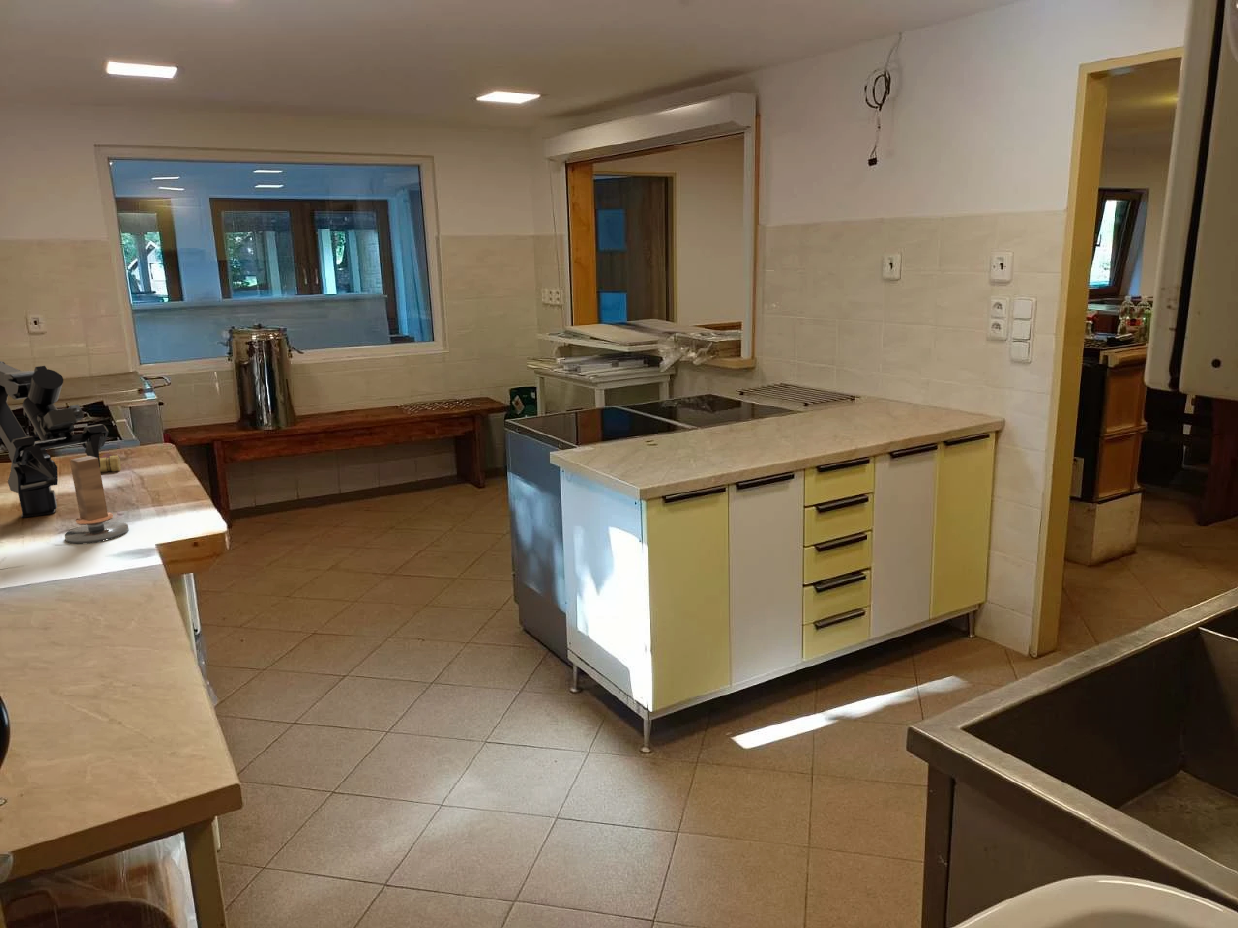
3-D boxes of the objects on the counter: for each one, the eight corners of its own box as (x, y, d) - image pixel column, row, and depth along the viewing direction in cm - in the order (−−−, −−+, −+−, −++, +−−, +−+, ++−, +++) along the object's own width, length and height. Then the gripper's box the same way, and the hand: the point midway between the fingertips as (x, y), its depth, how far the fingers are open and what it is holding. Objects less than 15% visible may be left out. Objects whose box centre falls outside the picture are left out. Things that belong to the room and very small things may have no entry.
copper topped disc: (63, 547, 185) (59, 529, 184) (67, 531, 195) (64, 514, 194) (128, 537, 190) (125, 519, 189) (128, 522, 201) (126, 505, 200)
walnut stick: (80, 517, 191) (69, 459, 188) (99, 513, 194) (89, 455, 191) (88, 521, 189) (77, 462, 186) (108, 516, 192) (97, 458, 189)
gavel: (88, 450, 262) (126, 446, 266) (91, 465, 263) (129, 461, 267) (75, 460, 243) (116, 456, 247) (78, 477, 244) (119, 472, 248)
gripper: (3, 401, 184) (35, 460, 180) (97, 388, 198) (129, 442, 195) (-5, 434, 190) (26, 491, 187) (87, 419, 205) (118, 471, 201)
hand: (76, 473), depth 192 cm, fingers open, 9 cm apart
